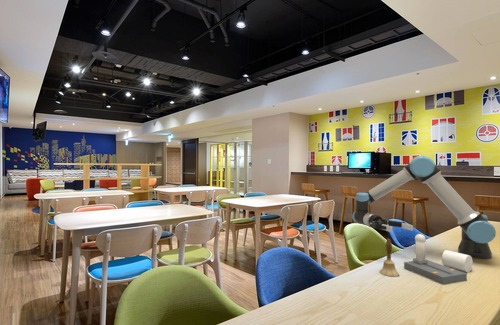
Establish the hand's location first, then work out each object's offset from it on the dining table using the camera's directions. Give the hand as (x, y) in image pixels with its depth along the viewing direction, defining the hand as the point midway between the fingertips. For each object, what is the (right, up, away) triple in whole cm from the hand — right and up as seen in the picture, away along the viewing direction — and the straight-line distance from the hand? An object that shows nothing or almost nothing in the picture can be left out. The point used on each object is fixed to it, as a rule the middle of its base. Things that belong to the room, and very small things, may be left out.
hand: (402, 228), depth 149 cm
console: (+5, -17, -17) cm, 25 cm away
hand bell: (-15, -17, -16) cm, 28 cm away
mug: (+23, -18, -9) cm, 30 cm away
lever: (+3, -14, -10) cm, 18 cm away
